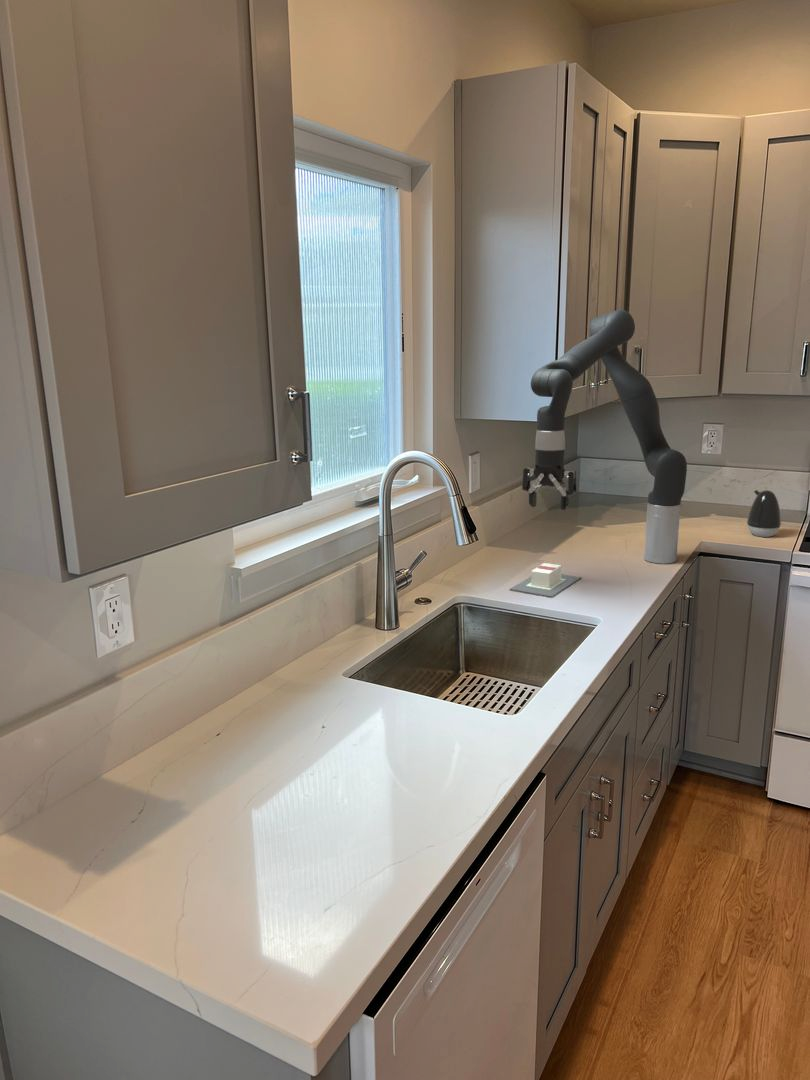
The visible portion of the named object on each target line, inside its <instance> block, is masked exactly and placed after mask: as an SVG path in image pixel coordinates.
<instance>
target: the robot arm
mask: <svg viewBox="0 0 810 1080" xmlns="http://www.w3.org/2000/svg"><path fill="white" fill-rule="evenodd" d="M635 325H636V324H635V320H634V318H633V316H632V315H631V313H630V312H629V311H627V310H625V309H616V310H612V311H610V312H607V313H605V314H602V315H599V316H597V317H594V318H593V319H591V320H590V322H589V326H588V329H589V330H588V332H589V337H587V338H586V339H584V340H583V341H581V342H579V343H577V344H576V345H574V346H573V347H571V348H569V350H568V351H566V352H565V353H564V354H563V355H562V356H560V357H559V358H558V359H556V360H553V361H551V362H548V363H546V364H545V365H542V366H541V367H540V368H538V369H537V370H536V371H535V372H534V373H533V375H532V376H531V380H530V389H531V391H532V392H533V394H534V395H536V396H538V397H542V398H543V397H546V398H551V402H550V403H549V405H545V406H542V407H540V408H539V409H537V412H536V432H535V433H536V434H535V446H534V447H535V450H534V451H535V454H534V455H535V456H534V465H535V467H534V468H532V467H531V466H527V467H526V468H524V469H523V473H522V487H521V490H522V491H526V492H527V493H528V504H529V506H530V507H531V508H535V507H536V506H537V498H538V497H537V495H538V494H537V492H536V491H537V490H538V489H539V488H540V487H541V486H542V487H546V486H549V487H552V488H553V487H555V488H556V489H557V490H558V491H559V492H560V494H561V497H560V510H561V511H566V510H567V509H568V508H569V503H570V501H569V500H570V498H569V497H570V495H571V496H572V495H573V494H576V493H577V472H576V470H574V469H573V470H569V471H568V470H565V453H566V451H565V449H566V438H565V437H566V435H565V416H566V411H567V407H568V403H569V400H570V397H571V394H572V390H573V385H574V384H573V382H574V381H575V380H577V379H578V378H580V377H581V376H582V375H583V374H584V373H585V372H586V371H587V370H589V369H590V368H591V367H592V366H593V365H594V364H596V363H597V362H598V361H599V360H601V362H602V363H603V365H604V367H605V368H606V371H607V373H608V375H609V377H610V379H611V382H612V383H613V386H614V388H615V390H616V393H617V395H618V398H619V401H620V403H621V405H622V407H623V410H624V412H625V413H624V414H626V417H627V418H628V421H629V423H630V425H631V428H632V430H633V431H634V434H635V436H636V438H637V440H638V443H639V446H640V449H641V453H642V457H643V460H644V463H645V467H646V469H647V471H648V473H649V474H650V475H651V476H653V477H654V480H653V483H654V484H653V488H652V491H650V492H649V493H648V495H647V507H646V509H647V510H646V521H645V522H646V524H645V539H644V555H643V559H644V561H647V562H649V563H654V564H664V565H665V564H673V563H675V562H677V556H678V554H677V553H678V547H679V546H678V542H679V529H680V518H681V517H680V515H681V503H682V498H683V496H684V493H685V489H686V482H687V480H686V479H687V472H688V470H687V469H688V465H687V464H688V463H687V459H686V457H685V456H684V454H683V453H682V452H681V451H679V450H677V449H673V448H671V446H670V445H669V442H668V441H667V439H666V437H665V434H664V433H663V430H662V426H661V420H660V419H661V418H660V406H659V402H658V398H657V397H656V393H655V392H654V389H653V387H652V384H651V382H650V381H649V379H648V378H647V377H645V376H644V374H642V372H640V371H638V369H636V368H635V367H633V365H631V364H630V363H629V362H628V361H627V360H626V359H625V358H624V356H623V355H622V352H621V351H620V349H619V346H621V345H623V344H625V343H628V341H631V339H632V338H633V336H634V334H635V331H636V330H635V329H636V326H635ZM533 475H534V476H535V478H536V479H535V480H534V482H533V483H532V484H531V479H532V476H533ZM564 477H565V479H566V480H567V483H568V486H567V485H566V482H565V481H564Z"/></svg>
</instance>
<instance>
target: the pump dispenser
mask: <svg viewBox="0 0 810 1080" xmlns="http://www.w3.org/2000/svg"><path fill="white" fill-rule="evenodd" d="M754 494H755V495H756V497H755V498H754V500H753V502H752V504H751V507H750V510H749V511H748V512H749V513H748V516H747V521H746V525H747V527H748V530H749V532H750V534H752V535H753V536H755V537H759V538H769V537H773V536H774V535H776V534H777V533H778V531H779V529H780V527H781V526H782V525H781V524H782V519H781V517H782V516H781V509H780V504H779V501H778V498H777V496H776V494H775V493H774V492H773V491H771V490H767V489H766V490H765V489H764V490H762V491H761V492H760V491H758V490H757V489H756V490H754Z"/></svg>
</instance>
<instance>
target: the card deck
mask: <svg viewBox="0 0 810 1080" xmlns="http://www.w3.org/2000/svg"><path fill="white" fill-rule="evenodd" d="M561 574H562V565H560V564H554V563H549V562H548V563H547V562H543V563H542V564H540V565H539V566H537V567H536V568H534V569H532V570H531V573H530V577H531V585H532V586H538V587H544V588H550V587H551V586H552V585H554V584H555V583H557V582H558V581H559V580H561Z"/></svg>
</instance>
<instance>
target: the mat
mask: <svg viewBox="0 0 810 1080" xmlns="http://www.w3.org/2000/svg"><path fill="white" fill-rule="evenodd" d="M581 579H582V577H581V576H577V575H571V574H566V573H561V580H559V581H558V582H557V583H555V584H554V585H552V586H551V587H550V588H544V587H538V586H532V585H531V576H530V577H528V578H525V579H524V580H523V581H521V582H519V583H518V584H515V585H514V586H512V587H510V588H509V591H510V592H511V591H512V592H516V591H517V593H522V592H523V594H529V595H534V596H539V595H541V596H540V597H544V596H546V598H550V597H553V596H554V597H555V595H556V594H557V595H558V593H559V594H560V593H561V591H562V592H563V591H565V590H566V589H568V588H569V587H571V586H572V585H573V584H575V583H576V582H578V581H580V580H581ZM564 589H565V590H564ZM557 595H556V596H557ZM554 597H553V598H554Z"/></svg>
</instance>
